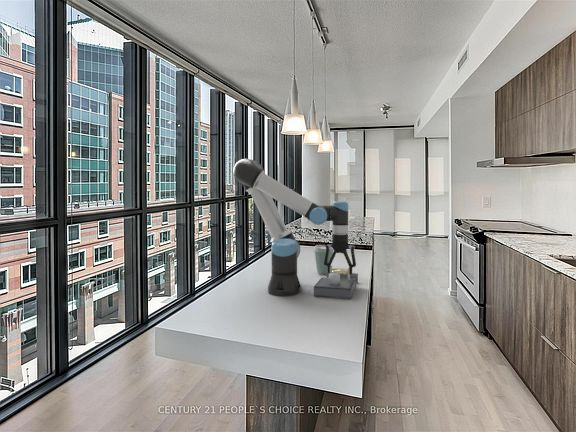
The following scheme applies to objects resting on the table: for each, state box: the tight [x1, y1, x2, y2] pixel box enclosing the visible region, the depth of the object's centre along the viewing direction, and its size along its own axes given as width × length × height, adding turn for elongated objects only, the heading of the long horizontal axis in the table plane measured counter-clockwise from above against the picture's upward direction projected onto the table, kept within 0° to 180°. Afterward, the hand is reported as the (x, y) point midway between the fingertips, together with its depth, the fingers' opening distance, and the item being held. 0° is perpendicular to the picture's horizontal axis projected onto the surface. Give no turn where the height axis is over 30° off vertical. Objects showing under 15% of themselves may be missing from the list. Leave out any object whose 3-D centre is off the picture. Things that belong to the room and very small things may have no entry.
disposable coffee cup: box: [313, 244, 334, 275], centre depth 212 cm, size 11×11×15 cm
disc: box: [332, 267, 348, 275], centre depth 188 cm, size 8×8×2 cm
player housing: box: [313, 273, 356, 300], centre depth 175 cm, size 16×16×9 cm
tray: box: [326, 271, 359, 284], centre depth 188 cm, size 16×16×4 cm
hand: (339, 280), depth 188 cm, fingers closed on disc, 8 cm apart
